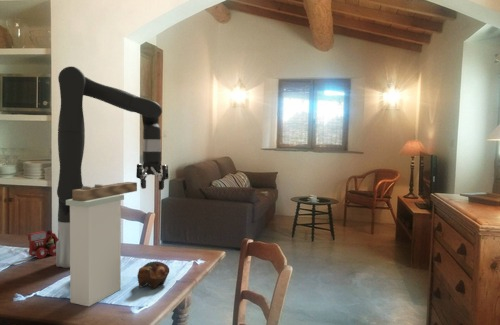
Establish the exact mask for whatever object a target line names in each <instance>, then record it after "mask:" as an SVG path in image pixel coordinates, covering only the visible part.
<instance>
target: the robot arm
mask: <svg viewBox="0 0 500 325" xmlns="http://www.w3.org/2000/svg"><path fill="white" fill-rule="evenodd" d="M57 78H58V84H59V92H60V93H59V94H60V109H59V116H58V123H57V124H58V125H57V147H58V149H57V150H58V159H59V160H58V161H59V175H58V183H57V188H56V195H57V197H58V209H57V210H58V211H57V238H58V241H57V242H56V255H55V256H56V258H55V260H56V261H55V262H56V265H55V266H56V267H61V268H70V205H66V200H69V199H72V190H76V189H82V186H84V184H83V177H82V176H83V175H82V162H83V159H84V152H85V144H86V143H85V141H86V140H85V138H86V136H85V117H84V110H83V109H84V108H83V107H84V106H83V104H84V103H83V100H84V99H83V98H84V96H85V97H89V98H92V99H96V100H98V101H101V102H104V103H106V104H109V105H111V106H113V107H116V108H120V109H122V110H125V111H127V112H130V113H135V114H139V115H141V118H142V125H143V126H142V127H143V128H142V130H143V131H142V134H143V135H142V137H143V138H142V139H143V141H142V161H143V163H137V164H136V174H135V175H136V179H139V180H140V188H141V190H145V189H147V177H148V176H149V175H151V176H155V177H157V179H158V191H162V190H164V188H165V180H169V165H167V164H162V141H161V139H162V138H161V137H162V135H161V133H162V132H161V127H160V121H159V120H160V119H159V118H160V117H161V115H162V113H163V110H162V106H161V105H160V104H159V103H158V102H157V101H153V100H151V99H147V98H144V97H141V96H137V95H136V94H134V93H131V92H128V91H125V90H122V89H120V88H116V87H112V86H109V85H105V84H102V83H99V82H97V81H95V80H92V79H90V78H88V77H86V76H85V74H84V73H83V71H81V69H80V68H78V67H76V66H66V67H64V68H62V69H61V71H60V72H59V74H58V77H57ZM143 169H144V170H143Z"/></svg>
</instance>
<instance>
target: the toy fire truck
mask: <svg viewBox="0 0 500 325" xmlns="http://www.w3.org/2000/svg"><path fill="white" fill-rule="evenodd" d="M27 240H28V245H29V246H28V248H29V250H28V254H29V256H31V257H36V258H38V259H45V257H46V256H47V254H49V255H50V256H53V257H55V256H56V242H57V241H58V235H56V233H54V232H53V230H52V229H48V230H47V231H44V230H41V231H37V232H32V233H31V232H30V233H29V234H27Z"/></svg>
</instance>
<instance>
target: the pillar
mask: <svg viewBox="0 0 500 325" xmlns="http://www.w3.org/2000/svg"><path fill="white" fill-rule="evenodd" d="M123 200H125V195H124V194H119V195H114V196H108V197H103V198H98V199H93V200H87V201H75V200H72V199H69V200H66V205H70V267H69V269H70V270H69V274H70V275H69V276H70V277H69V280H70V285H69V286H70V288H69V289H70V291H69V292H70V293H69V294H70V296H69V297H70V299H69V300H70V303H71V304H74V305H75V304H77V305H81V306H86V307H91V306H92V305H94V304H96V303H98V302H100V301H101V300H103V299H105V298H107V297H109V296H112V295H113V294H114V293H116V292H118V291H120V290H121V288H122V287H121V286H122V285H121V284H122V283H121V281H122V280H121V276H122V275H121V271H122V270H121V266H122V264H121V262H122V259H121V254H122V251H121V250H122V248H121V244H122V243H121V242H122V239H121V238H122V237H121V236H122V231H121V230H122V229H121V228H122V227H121V226H122V223H121V222H122V220H121V219H122V218H121V217H122V212H121V210H122V209H121V208H122V205H121V201H123Z"/></svg>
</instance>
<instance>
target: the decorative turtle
mask: <svg viewBox="0 0 500 325" xmlns="http://www.w3.org/2000/svg"><path fill="white" fill-rule="evenodd" d="M169 274H170V268H169V266H168V265H167V264H166V263H164V262H161V261H150V262H147V263H145V264H144V265H143V266H141V267H140V268H139V269H138V272H137V282H138V285H139V287H140V288H143V287H146V285H149V287H150V288H151V289H153V290H155V289H156V288H158V287H159V285H164V284H165V282H166V280H167V278H168V276H169Z"/></svg>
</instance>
